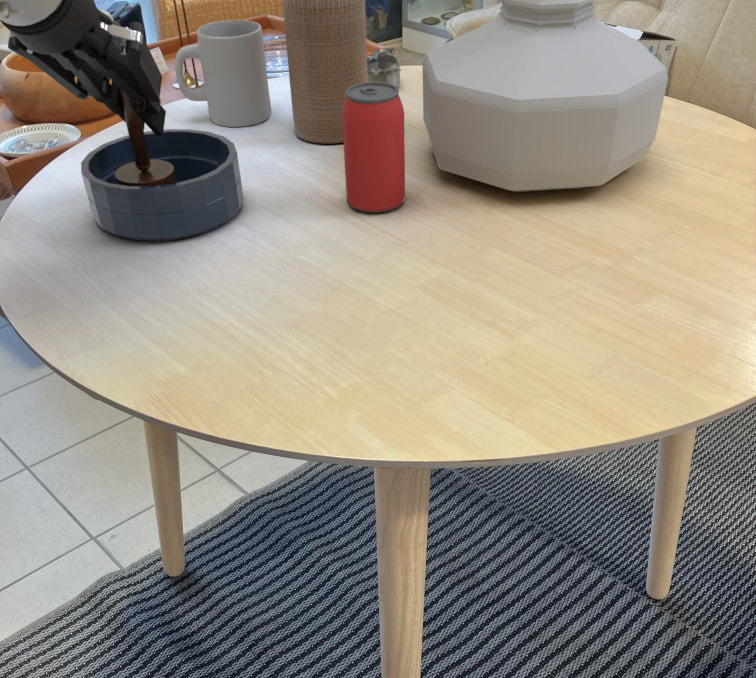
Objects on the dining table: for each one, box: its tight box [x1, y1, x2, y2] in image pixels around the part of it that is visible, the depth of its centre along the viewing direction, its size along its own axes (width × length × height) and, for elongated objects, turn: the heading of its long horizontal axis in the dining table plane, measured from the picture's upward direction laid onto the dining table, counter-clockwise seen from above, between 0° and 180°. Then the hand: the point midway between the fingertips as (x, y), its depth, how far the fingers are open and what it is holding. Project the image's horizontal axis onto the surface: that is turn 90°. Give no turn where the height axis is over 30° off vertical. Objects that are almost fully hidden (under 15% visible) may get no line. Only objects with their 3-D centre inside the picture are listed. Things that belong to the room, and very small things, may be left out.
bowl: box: [80, 128, 245, 242], centre depth 95 cm, size 17×17×6 cm
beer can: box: [342, 82, 406, 214], centre depth 93 cm, size 7×7×12 cm
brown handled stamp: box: [112, 20, 177, 186], centre depth 89 cm, size 6×6×17 cm
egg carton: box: [367, 46, 402, 88], centre depth 125 cm, size 11×8×4 cm
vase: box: [281, 0, 368, 145], centre depth 104 cm, size 10×10×28 cm
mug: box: [174, 19, 272, 128], centre depth 114 cm, size 12×8×11 cm
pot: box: [422, 0, 669, 193], centre depth 98 cm, size 28×28×19 cm
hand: (151, 122), depth 93 cm, fingers closed on brown handled stamp, 2 cm apart
